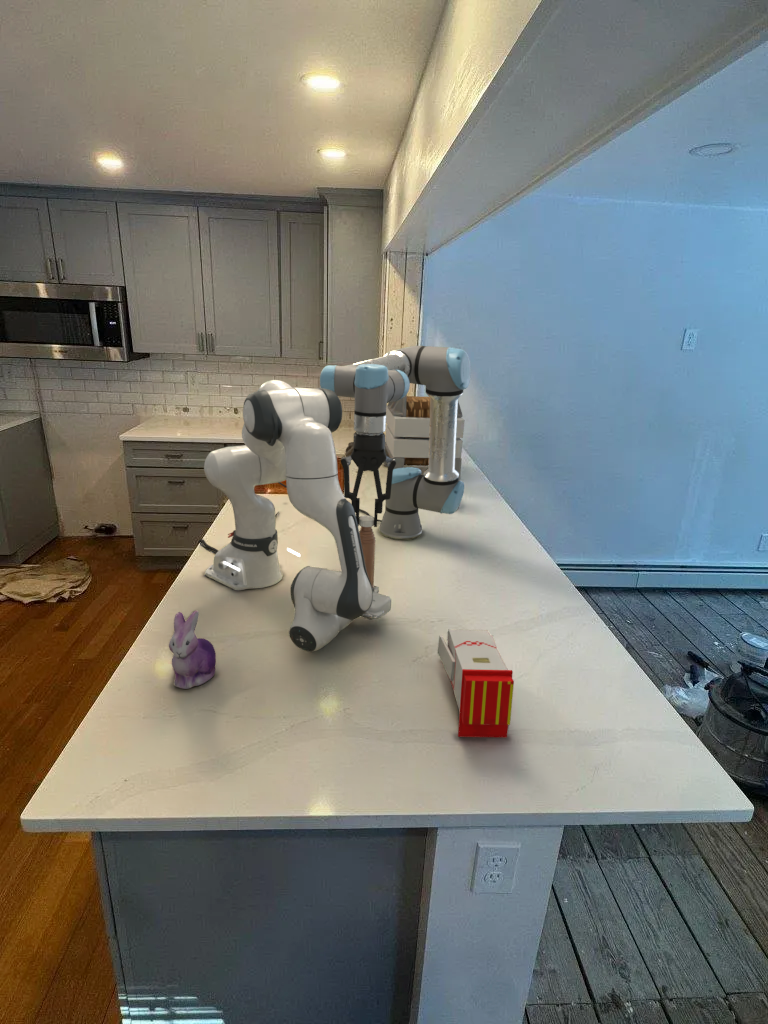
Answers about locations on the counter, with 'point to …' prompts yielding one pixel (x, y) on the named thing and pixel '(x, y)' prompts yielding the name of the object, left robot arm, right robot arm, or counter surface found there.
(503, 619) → the counter surface
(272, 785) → the counter surface
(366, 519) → the cap
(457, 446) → the grey slatted box
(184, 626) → the figurine
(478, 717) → the toy
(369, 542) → the bottle
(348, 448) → the fossil
